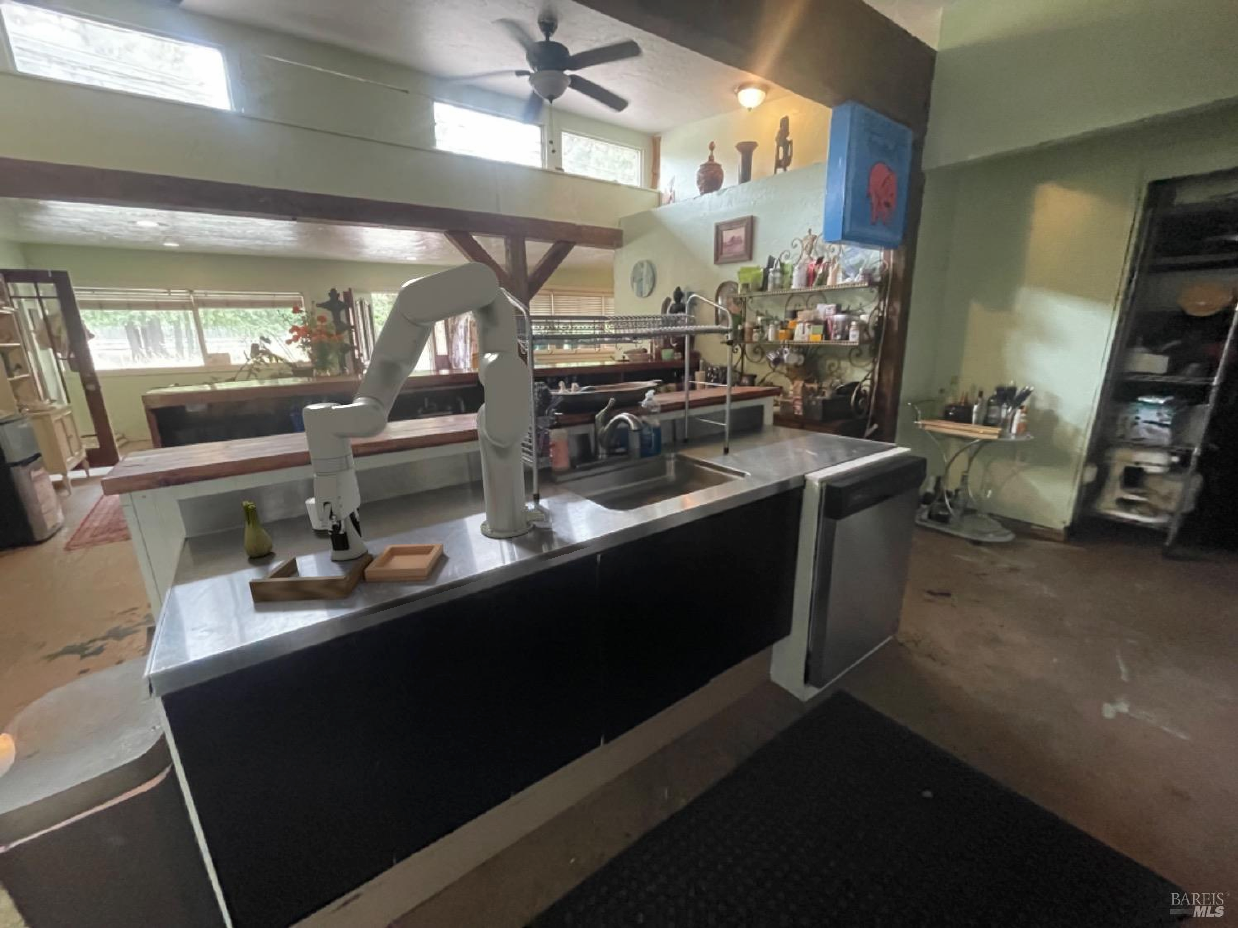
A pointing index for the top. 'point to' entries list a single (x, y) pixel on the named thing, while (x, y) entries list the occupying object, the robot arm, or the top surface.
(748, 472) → the top surface
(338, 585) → the bay
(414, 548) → the tray
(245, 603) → the top surface
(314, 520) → the white tapered cylinder
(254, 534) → the fennel bulb
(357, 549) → the flask
